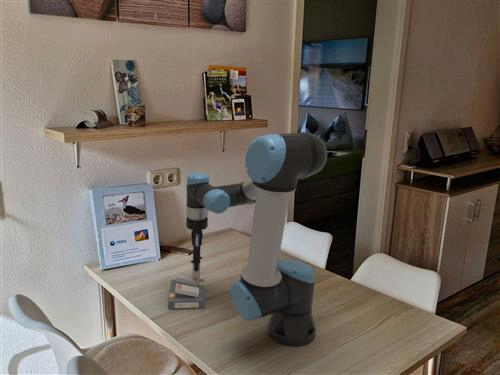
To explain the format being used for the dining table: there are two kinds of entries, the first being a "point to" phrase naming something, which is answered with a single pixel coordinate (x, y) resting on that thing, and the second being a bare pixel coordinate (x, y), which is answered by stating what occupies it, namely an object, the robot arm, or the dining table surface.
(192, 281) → the rocker rear
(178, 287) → the rocker front
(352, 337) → the dining table surface
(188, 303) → the switch unit
